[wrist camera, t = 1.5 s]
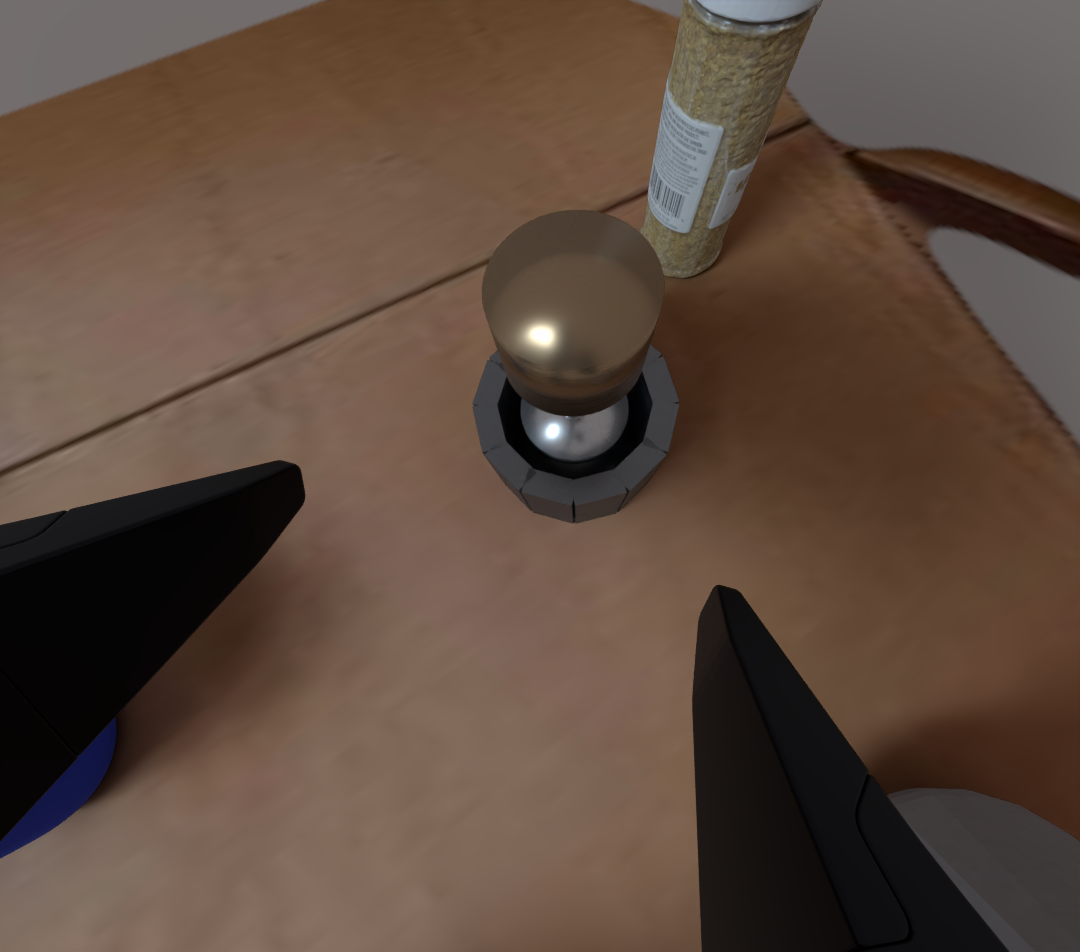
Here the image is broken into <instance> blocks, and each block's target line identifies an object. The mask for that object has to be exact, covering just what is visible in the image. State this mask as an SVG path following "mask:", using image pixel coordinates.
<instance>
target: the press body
mask: <svg viewBox="0 0 1080 952" xmlns="http://www.w3.org/2000/svg"><path fill="white" fill-rule="evenodd" d="M661 355H662V354H661V353H660V352H659V351H658V350H656V349H655V348H654V347H653V346H652V345H650V346H649V350H648V353H647V356H646V360H645V363H644V366H643V369H642V372H641V374H640V376H639V378H638V380H637V382H636V383H635V385H634V386H633V388H632V389H631V390H630V391H629V392H628V393H627V399H628V406H629V410H628V418H627V423H626V426H625V429H624V432H623V434H622V436H621V438H620V439H619V441H618V442H617V444H616V445H615V446H614V447H613V448H612V449H611V450H610V451H609V452H607V453H606V454H604V455H603V456H601V457H599V458H597V459H595V460H592V461H589V462H585V463H578V464H570V463H563V462H559V461H555V460H553V459H551V458H549V457H547V456H545V455H544V454H542V453H541V452H540V451H538V450H537V449H536V448H535V447H534V445H533V444H532V443H531V441H530V440H529V439H528V436H527V434H526V432H525V429H524V426H523V423H522V419H521V401H522V398H521V397H520V395H519V394H518V393H517V392H516V391H515V390H514V388H513V387H512V385H511V384H510V382H509V380H508V378H507V376H506V374H505V371H504V368H503V365H502V362H501V359H500V356H499V353H498V350H497V351H496V352H495V353H494V354H493V355H492V356H490V357H489V358H490V361H489V360H487V363H486V366H485V369H484V372H483V375H482V378H481V380H480V383H479V386H478V389H477V392H476V395H475V398H474V401H473V405H474V407H473V412H474V416H475V421H476V425H477V430H478V434H479V439H480V444H481V448H482V452H483V454H484V456H485V457H486V459H487V460H488V461H489V463H490V464H491V466H492V467H493V468H494V470H495V471H496V473H497V474H498V475H499V477H500V478H501V479H502V481H503V482H504V483H505V485H506V486H507V487H508V488H509V489H510V490H511V491H512V492H513V493H514V494H515V495H516V496H517V497H518V498H519V499H520V500H521V501H522V502H523V503H524V504H525V505H526V506H527V507H528V508H529V509H530V510H531V511H533V512H534V513H537V514H541V515H544V516H548V517H551V518H555V519H559V520H562V521H566V522H569V523H573V522H574V521H575V522H576V523H580V522H584V521H588V520H592V519H596V518H599V517H603V516H607V515H611V514H615V513H616V512H617V511H618V512H619V511H620V510H621V509H622V508H623V507H624V506H625V505H626V504H627V503H628V502H629V501H630V500H631V499H632V498H633V497H634V496H635V495H636V494H637V493H638V492H639V491H640V490H641V489H642V488H643V487H644V486H645V485H646V484H647V483H648V481H649V480H650V478H651V477H652V475H653V474H654V473H655V471H656V470H657V468H658V467H659V465H660V464H661V462H662V461H663V459H664V458H665V456H666V454H667V453H668V451H669V447H670V443H671V438H672V434H673V430H674V426H675V422H676V417H677V413H678V409H679V404H678V403H679V399H678V396H677V393H676V390H675V387H674V384H673V382H672V379H671V376H670V373H669V370H668V367H667V364H666V362H665V359H664V357H661Z"/></svg>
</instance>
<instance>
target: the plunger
mask: <svg viewBox="0 0 1080 952" xmlns="http://www.w3.org/2000/svg"><path fill="white" fill-rule="evenodd" d="M664 284H665V282H664V274H663V270H662V266H661V263H660V260H659V258H658V256H657V254H656V252H655V250H654V249H653V247H652V246H651V244H650V243H649V242H648V241H647V239H646V238H645V237H644V236H643V235H642V234H641V233H640V232H638V231H637V230H636V229H635V228H633V227H632V226H630V225H629V224H627V223H626V222H624V221H622V220H620V219H618V218H616V217H613V216H610V215H607V214H604V213H600V212H595V211H587V210H567V211H559V212H554V213H550V214H547V215H544V216H541V217H538V218H536V219H533V220H531V221H529V222H527V223H526V224H524V225H522V226H521V227H519V228H518V229H516V230H515V231H514V232H512V233H511V234H510V235H509V236H508V237H507V238H506V239H505V240H504V241H503V242H502V243H501V244H500V245H499V247H498V248H497V249H496V251H495V252H494V254H493V255H492V257H491V259H490V261H489V263H488V265H487V268H486V271H485V274H484V278H483V284H482V302H483V308H484V312H485V315H486V318H487V321H488V324H489V327H490V330H491V332H492V335H493V338H494V341H495V344H496V347H497V350H498V353H499V356H500V359H501V362H502V365H503V368H504V371H505V374H506V376H507V378H508V380H509V382H510V384H511V385H512V387H513V388H514V390H515V391H516V392H517V393H518V394H519V395H520V397H521V398H522V401H521V419H522V423H523V426H524V429H525V432H526V434H527V436H528V439H529V440H530V441H531V443H532V444H533V445H534V447H535V448H536V449H537V450H538V451H540V452H541V453H542V454H544V455H545V456H547V457H549V458H551V459H553V460H555V461H559V462H563V463H570V464H578V463H585V462H589V461H592V460H595V459H597V458H599V457H601V456H603V455H604V454H606V453H607V452H609V451H610V450H611V449H612V448H613V447H614V446H615V445H616V444H617V442H618V441H619V439H620V438H621V436H622V434H623V432H624V429H625V426H626V423H627V418H628V410H629V406H628V399H627V393H628V392H629V391H630V390H631V389H632V388H633V386H634V385H635V383H636V382H637V380H638V378H639V376H640V374H641V372H642V369H643V366H644V363H645V360H646V356H647V353H648V350H649V346H650V343H651V340H652V336H653V333H654V330H655V327H656V323H657V320H658V317H659V313H660V310H661V307H662V303H663V297H664Z"/></svg>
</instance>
